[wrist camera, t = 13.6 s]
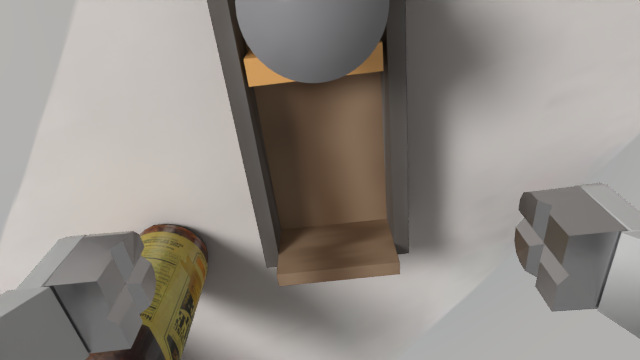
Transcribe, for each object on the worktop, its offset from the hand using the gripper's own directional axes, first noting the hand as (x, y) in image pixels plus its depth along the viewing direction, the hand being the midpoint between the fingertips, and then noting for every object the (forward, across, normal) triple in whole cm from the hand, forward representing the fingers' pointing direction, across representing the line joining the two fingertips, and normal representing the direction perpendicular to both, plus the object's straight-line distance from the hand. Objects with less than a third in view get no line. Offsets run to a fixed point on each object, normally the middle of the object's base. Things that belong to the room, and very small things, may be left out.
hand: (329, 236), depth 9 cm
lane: (+20, 0, +4) cm, 20 cm away
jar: (+19, 0, -3) cm, 19 cm away
